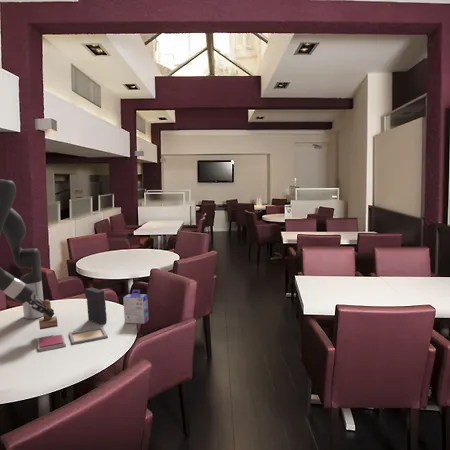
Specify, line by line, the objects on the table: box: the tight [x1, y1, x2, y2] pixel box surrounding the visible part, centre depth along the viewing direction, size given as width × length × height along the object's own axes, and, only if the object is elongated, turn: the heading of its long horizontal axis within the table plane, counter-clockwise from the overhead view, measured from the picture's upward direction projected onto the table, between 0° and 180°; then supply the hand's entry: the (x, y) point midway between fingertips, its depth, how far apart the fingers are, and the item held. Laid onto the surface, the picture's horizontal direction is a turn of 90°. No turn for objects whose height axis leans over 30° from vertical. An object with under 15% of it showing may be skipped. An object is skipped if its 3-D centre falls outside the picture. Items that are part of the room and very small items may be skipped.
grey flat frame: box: [68, 326, 108, 345], centre depth 181 cm, size 12×14×1 cm
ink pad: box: [36, 334, 67, 352], centre depth 174 cm, size 11×10×2 cm
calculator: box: [84, 286, 108, 325], centre depth 199 cm, size 11×4×15 cm, turn 47°
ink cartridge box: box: [122, 289, 150, 325], centre depth 196 cm, size 10×6×14 cm, turn 78°
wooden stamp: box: [38, 299, 59, 330], centre depth 183 cm, size 5×7×12 cm
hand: (52, 313), depth 184 cm, fingers closed on wooden stamp, 3 cm apart
